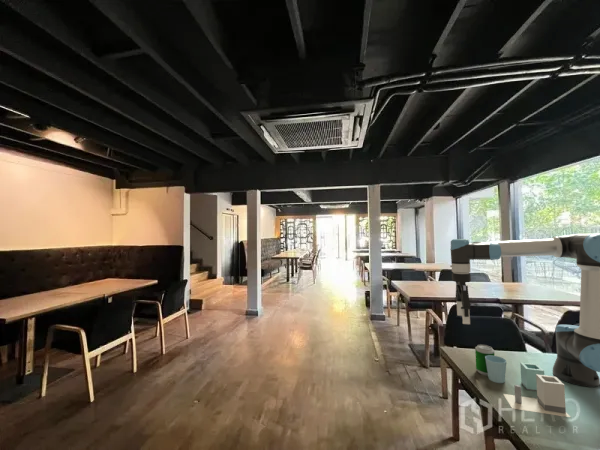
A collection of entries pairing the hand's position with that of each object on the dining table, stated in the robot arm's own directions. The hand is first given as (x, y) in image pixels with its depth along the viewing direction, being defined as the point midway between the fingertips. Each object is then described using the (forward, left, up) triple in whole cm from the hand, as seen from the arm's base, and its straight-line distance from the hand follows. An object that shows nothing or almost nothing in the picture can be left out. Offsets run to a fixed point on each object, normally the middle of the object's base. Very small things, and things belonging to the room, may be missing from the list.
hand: (463, 319), depth 131 cm
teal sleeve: (-24, +4, -26) cm, 36 cm away
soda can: (-10, -8, -26) cm, 29 cm away
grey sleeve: (-24, +18, -25) cm, 39 cm away
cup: (-12, +1, -26) cm, 29 cm away
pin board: (-19, +18, -26) cm, 37 cm away
